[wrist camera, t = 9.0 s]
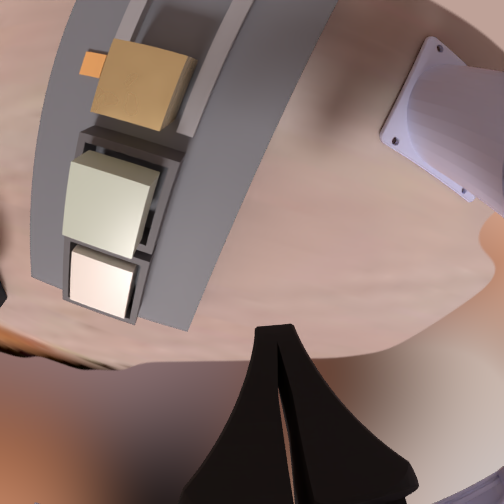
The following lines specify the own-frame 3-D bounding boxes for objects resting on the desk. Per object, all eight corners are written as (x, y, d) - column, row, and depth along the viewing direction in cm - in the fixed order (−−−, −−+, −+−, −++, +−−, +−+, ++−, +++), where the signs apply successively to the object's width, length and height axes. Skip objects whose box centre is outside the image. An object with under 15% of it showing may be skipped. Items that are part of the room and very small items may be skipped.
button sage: (160, 172, 13) (150, 186, 11) (141, 238, 15) (131, 259, 13) (88, 149, 12) (70, 161, 10) (77, 217, 14) (62, 234, 12)
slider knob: (198, 60, 12) (187, 56, 9) (175, 120, 13) (159, 131, 10) (137, 44, 11) (113, 38, 8) (117, 103, 12) (90, 111, 10)
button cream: (141, 253, 17) (132, 272, 15) (131, 298, 18) (124, 318, 17) (84, 234, 16) (72, 251, 14) (80, 281, 18) (69, 299, 16)
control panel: (334, -9, 12) (361, -30, 8) (191, 307, 23) (184, 350, 19) (133, -65, 9) (108, -92, 5) (46, 257, 20) (20, 291, 16)
